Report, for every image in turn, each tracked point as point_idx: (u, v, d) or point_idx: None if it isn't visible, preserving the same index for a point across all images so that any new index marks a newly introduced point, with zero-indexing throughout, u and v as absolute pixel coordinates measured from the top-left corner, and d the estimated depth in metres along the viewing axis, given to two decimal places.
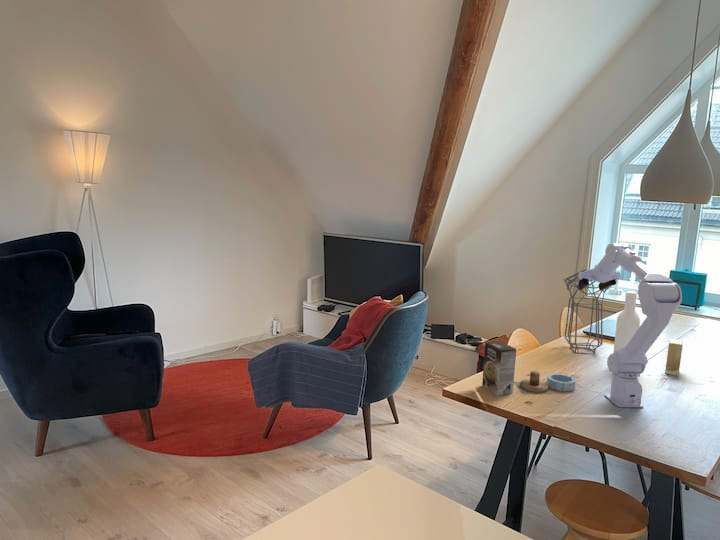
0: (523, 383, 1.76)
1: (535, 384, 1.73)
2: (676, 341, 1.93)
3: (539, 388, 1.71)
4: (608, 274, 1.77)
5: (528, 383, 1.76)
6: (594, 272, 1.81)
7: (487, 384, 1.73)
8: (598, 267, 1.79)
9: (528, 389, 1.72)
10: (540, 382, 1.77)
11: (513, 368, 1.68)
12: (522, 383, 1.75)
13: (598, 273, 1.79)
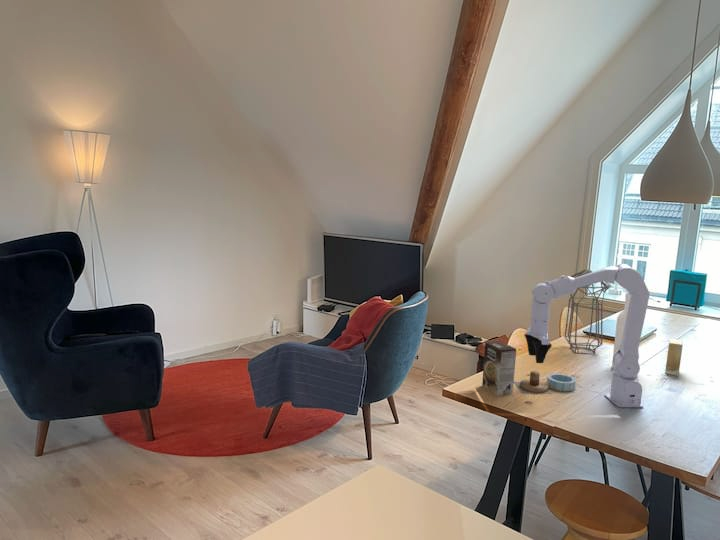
0: (523, 383, 1.76)
1: (535, 384, 1.73)
2: (676, 341, 1.93)
3: (539, 388, 1.71)
4: None
5: (528, 383, 1.76)
6: (541, 331, 1.70)
7: (487, 384, 1.73)
8: (542, 321, 1.69)
9: (528, 389, 1.72)
10: (540, 382, 1.77)
11: (513, 368, 1.68)
12: (522, 383, 1.75)
13: (546, 326, 1.70)
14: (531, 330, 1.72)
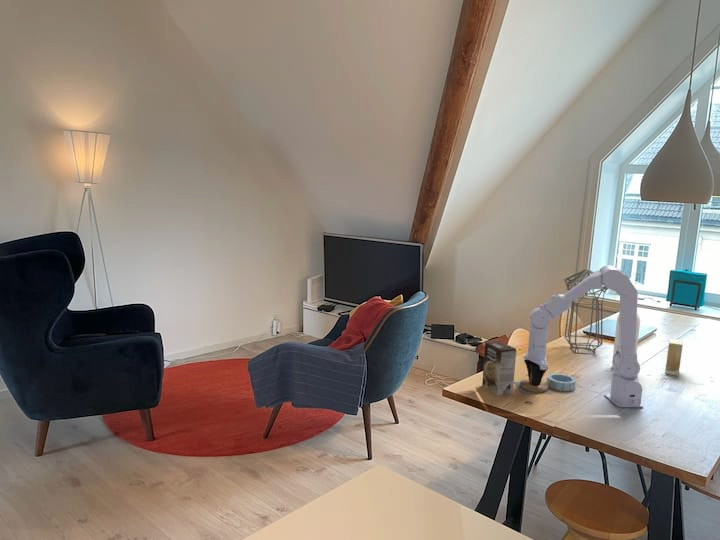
0: (523, 383, 1.76)
1: None
2: (676, 341, 1.93)
3: (539, 388, 1.71)
4: None
5: (528, 383, 1.76)
6: (539, 355, 1.70)
7: (487, 384, 1.73)
8: (540, 346, 1.70)
9: (528, 389, 1.72)
10: None
11: (513, 368, 1.68)
12: (522, 383, 1.75)
13: (544, 351, 1.71)
14: (529, 355, 1.72)
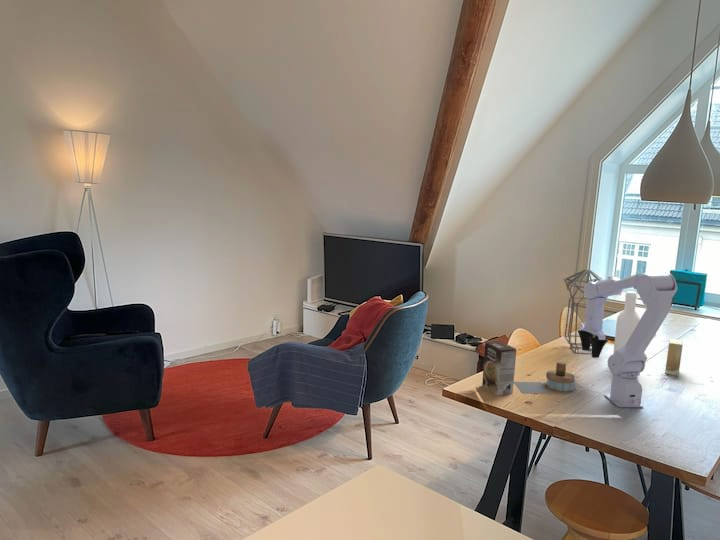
0: (549, 374, 1.77)
1: (562, 375, 1.75)
2: (676, 341, 1.93)
3: (566, 378, 1.73)
4: None
5: (554, 374, 1.77)
6: (597, 326, 1.77)
7: (487, 384, 1.73)
8: (598, 317, 1.77)
9: (555, 380, 1.73)
10: (566, 373, 1.78)
11: (513, 368, 1.68)
12: (548, 374, 1.77)
13: (601, 322, 1.78)
14: (586, 326, 1.79)
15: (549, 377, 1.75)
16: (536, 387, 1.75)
